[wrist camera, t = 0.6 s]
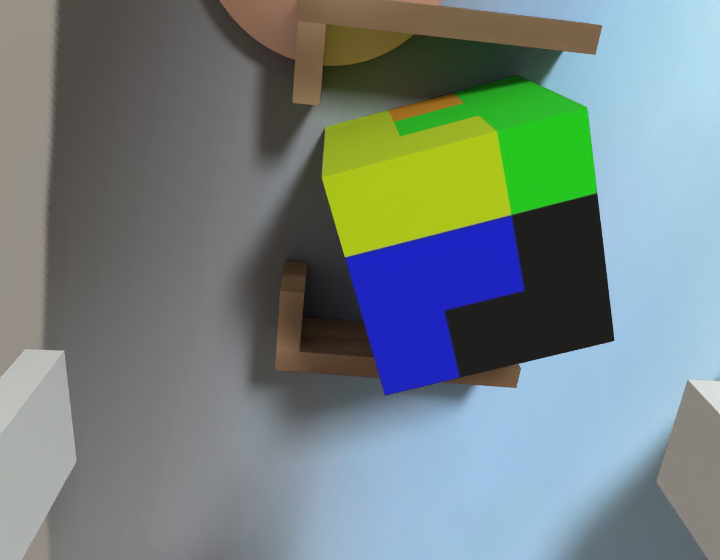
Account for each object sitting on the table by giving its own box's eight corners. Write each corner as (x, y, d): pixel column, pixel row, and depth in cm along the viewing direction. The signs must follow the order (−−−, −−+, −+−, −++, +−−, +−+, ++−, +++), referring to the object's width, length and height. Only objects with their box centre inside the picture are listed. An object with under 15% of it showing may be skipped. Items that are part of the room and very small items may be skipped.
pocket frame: (303, -11, 31) (299, -11, 27) (571, 21, 32) (602, 25, 28) (280, 333, 38) (274, 369, 35) (499, 350, 39) (516, 387, 36)
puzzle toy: (372, 297, 38) (385, 395, 29) (325, 127, 34) (321, 177, 25) (545, 254, 37) (614, 340, 28) (517, 75, 33) (587, 107, 24)
